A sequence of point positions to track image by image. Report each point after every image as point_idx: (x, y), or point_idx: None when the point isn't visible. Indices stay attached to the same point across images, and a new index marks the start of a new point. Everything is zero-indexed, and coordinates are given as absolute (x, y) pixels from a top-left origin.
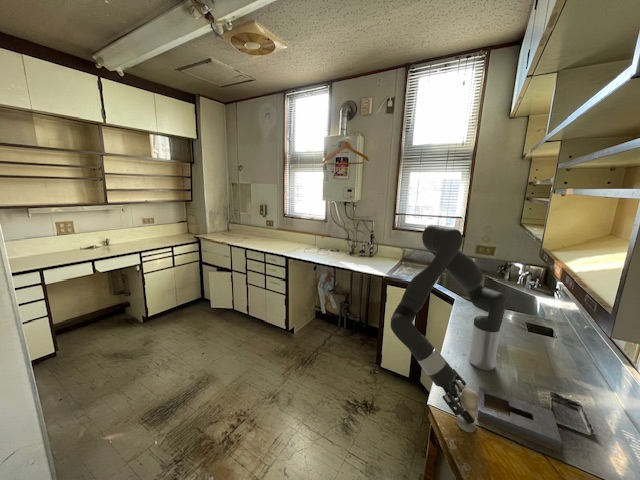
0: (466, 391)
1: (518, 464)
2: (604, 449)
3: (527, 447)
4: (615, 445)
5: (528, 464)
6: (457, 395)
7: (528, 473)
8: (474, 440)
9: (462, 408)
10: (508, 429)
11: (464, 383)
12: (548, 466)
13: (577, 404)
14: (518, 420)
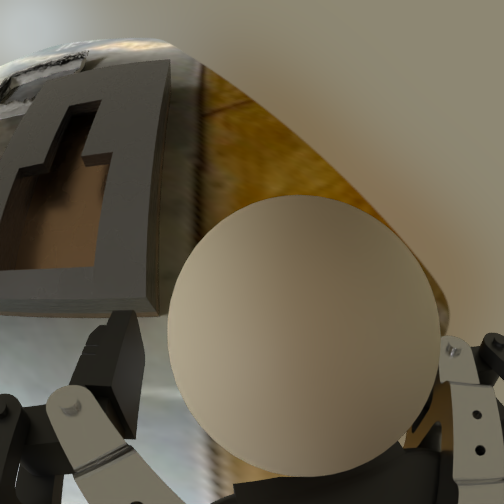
0: (308, 397)
1: (304, 171)
2: (115, 54)
3: (202, 144)
4: (97, 48)
5: (279, 148)
6: (489, 444)
7: (315, 153)
8: None
9: (470, 357)
10: (158, 182)
11: (13, 422)
12: (244, 112)
13: (8, 80)
14: (124, 129)
